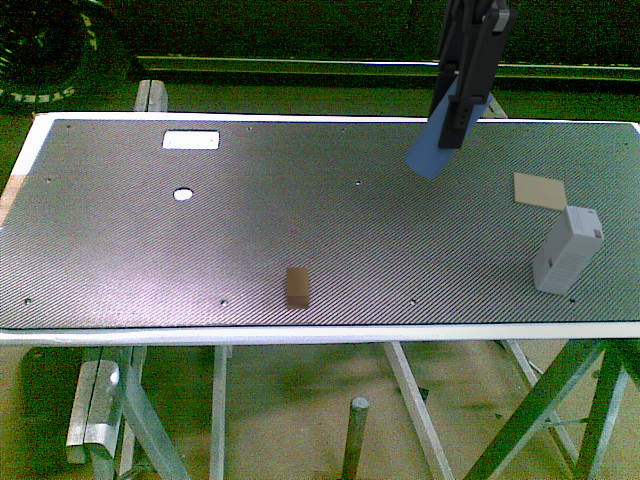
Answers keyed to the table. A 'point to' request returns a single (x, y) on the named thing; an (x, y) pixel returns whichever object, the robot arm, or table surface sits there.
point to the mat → (539, 191)
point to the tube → (437, 139)
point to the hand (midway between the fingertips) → (443, 134)
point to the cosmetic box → (567, 250)
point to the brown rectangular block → (297, 288)
